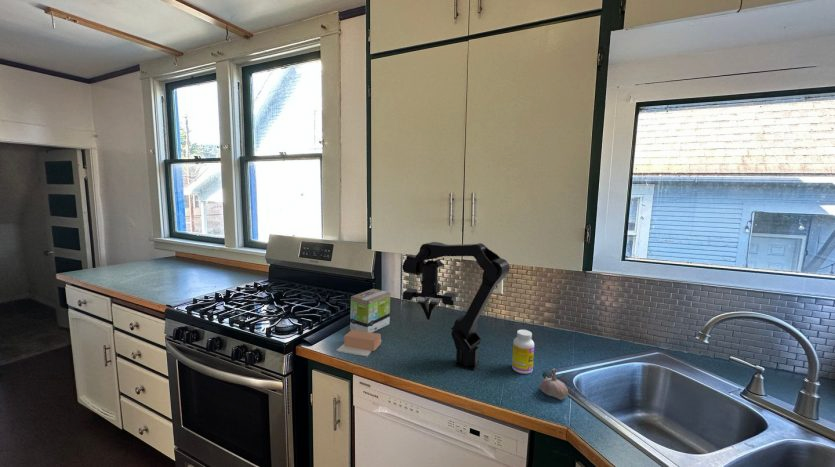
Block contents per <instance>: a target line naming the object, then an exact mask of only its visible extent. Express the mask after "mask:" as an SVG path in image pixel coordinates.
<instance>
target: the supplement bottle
mask: <svg viewBox="0 0 835 467" xmlns="http://www.w3.org/2000/svg"><path fill="white" fill-rule="evenodd" d="M532 338H533V333H532V332H531V331H530V330H527V329H518V330H517V332H516V337H515V338H514V339H513V343H512V359H511V366H512V370H513V371H515V372H516V373H519V374H525V375H527V374H531V373H532V372H533V368H534V357H535V342H534V341H533V339H532Z"/></svg>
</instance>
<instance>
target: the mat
mask: <svg viewBox="0 0 835 467" xmlns="http://www.w3.org/2000/svg"><path fill="white" fill-rule="evenodd" d="M381 342H382V339H381ZM336 352H339V353H345V354H349V355H356V356H361V357H366V358H367V357H368V356H369V355H370V354H371V353H372V352H373V351H370V350H364V349H358V348H352V347H346V346H344V343H343V344H342V345H341V346H339V347H338V348H337V349H336Z"/></svg>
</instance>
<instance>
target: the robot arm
mask: <svg viewBox="0 0 835 467" xmlns="http://www.w3.org/2000/svg"><path fill="white" fill-rule="evenodd" d="M442 257H443V258H444V257H473V258H474V259H475V261H476V262H477V264H478V266H479V267H480V268H481V269H482V270H483V272H482V274H481V277H482V278H481V284H480V286H479V287H478V290H477V291H476V294H475V296H474V297H473V299H472V301H471V304H470V305H469V308H468V309H467V311H466V313H465V314H463V315H461V316H460V317H458V318H457V319H455V321H454V324H453V326H452V327H451V328H450V330H451V333H450V334H451V337H452V340H453V343H454V346H455V350H456V351H455V352H456V354H455V360H456V362H455V363H454V365H455V366H456V367H459V368H463V369H465V370H466V369H467V370H471V371H474V370H475V369H476V367H478V366H479V364H480V360H479V345H480V344H481V342H482V338H481V336H480V335H479V334H478V333H477V329H478V320H479V318H480V316H481V315H482V312H483V310H484V309H485V307H486V306H487V304H488V301H489V300H490V298H491V295H492V294H493V293H494V291H495V289H496V287H497V286H498V285H499V284H500V283H501V282H502V281H503V280H504V278H506V276H507V275H508V274H509V272H510V269H511V266H510V264H509V263H508V260H506V259H504V258H501V257H500V256H499V255H498V254H497V253H496V252H494V251H493V250H492V249H489V248H488V247H487V246H486V245H485V244H483V243H482V242H478V243H473V244H472V243H468V244H463V243H462V244H446V243H443V242H437V241H432V242H427V243H423V244H421V246H420V248H419V251H418V253H417V254H416V255H415V256H414V255H412V254H408V255H406V256H405V260H404V261H403V263H402V271H403V273H405V274H410V275H415V276H421V281H420V285H421V291H420V292H418V289H417V288H410V287H409V288H407V289H406V290H404V291H403V292H402V294H401V295H402V297H401V298H402V300H405V301H411V300H413V299H414V298H418V299H417V300H418V301H417V304H419V305H420V306H421V308H422V310H423V312H424V315H425V318H426V320H427V321H429V320H431V319H432V318H431V317H432V314H433V312H434V309H435V308H436V307H438V305H439V304H440V303H441V302H442V304H443V305H445V306H454V305H455V303H456V301H457V295H456V293H453V292H444V294H439V293H441V287H442V284H441V283H440V282H439V277H438V276H439V275H438V274H439V268H440V267H443V266H444V264H445V263H443V262H442V261H441V260H440V258H442Z"/></svg>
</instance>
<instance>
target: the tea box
mask: <svg viewBox="0 0 835 467" xmlns="http://www.w3.org/2000/svg"><path fill="white" fill-rule="evenodd" d="M349 311H350V313H349V314H350V315H349V316H350V317H349V319H350V322H349V324H350V325H349V326H350V327H349V329H350V330H349V331H351V330H358V331H364V332H371V333H375V332H376V331H378V330H380V329H382V328H384V327H386V326H389V325H390V321H391V317H390V316H391V315H390V314H391V292H390V291H386V290H381V289H377V288H376V289H375V288H371V289H369V290H365V291H363V292H359V293H357V294H354V295H351V296H350V310H349Z"/></svg>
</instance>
